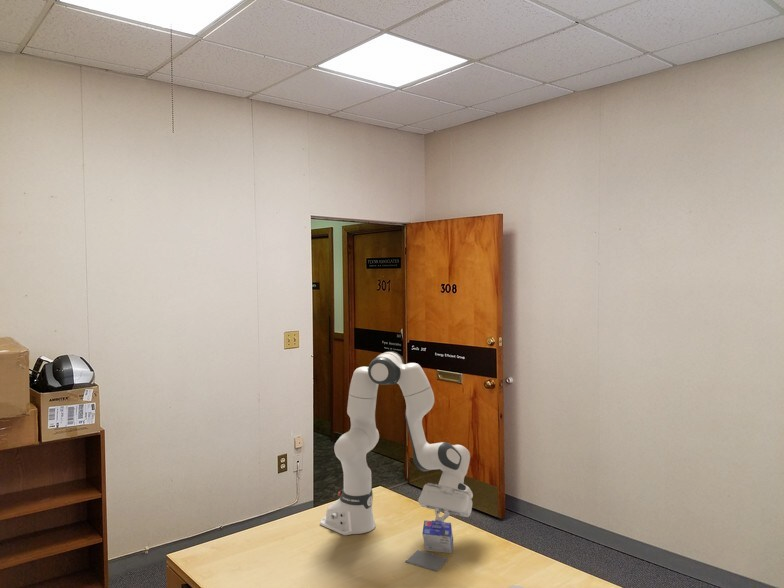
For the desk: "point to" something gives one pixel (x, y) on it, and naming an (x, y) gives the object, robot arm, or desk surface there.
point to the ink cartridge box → (437, 536)
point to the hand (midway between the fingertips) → (438, 522)
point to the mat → (427, 560)
